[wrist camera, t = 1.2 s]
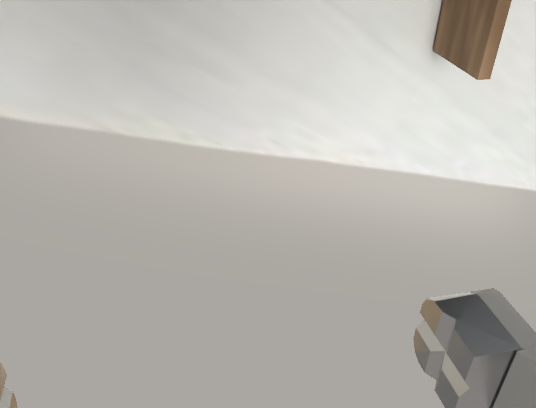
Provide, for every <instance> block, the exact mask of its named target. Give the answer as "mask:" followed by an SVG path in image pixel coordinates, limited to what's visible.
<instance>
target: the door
mask: <svg viewBox="0 0 536 408" xmlns="http://www.w3.org/2000/svg"><path fill="white" fill-rule="evenodd" d="M510 4H511V0H443V5H442V10H441V15H440V20H439V25H438V30H437V35H436V40H435V45H434V50H433V51H434V52H436V53H437V54H439V55H440V56H442V57H443V58H445V59H446V60H448V61H449V62H451V63H452V64H454V65H456V66H457V67H459V68H460V69H462V70H463V71H465V72H466V73H468V74H469V75H471V76H472V77H474V78H475V79H477V80H483V79H490V77H491V73H492V69H493V66H494V62H495V59H496V55H497V51H498V48H499V44H500V40H501V37H502V33H503V29H504V26H505V22H506V19H507V15H508V11H509V8H510Z"/></svg>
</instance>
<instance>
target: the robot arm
mask: <svg viewBox="0 0 536 408" xmlns="http://www.w3.org/2000/svg"><path fill="white" fill-rule="evenodd" d="M420 313H421V315H422V316H423V318H424V320H423V321H422V322H421V323H420V324H419V325H418V326H417V327H416V330H415V335H414V347H415V353H416V356H417V359H418V361H419V363H420V365H421V367H422V369H423V371H424V372H425V373H426V374H428V375H429V376H431V377H433V378H434V379H436V387H435V391H436V393H437V395H438V396H439V398H440V400H441V402H442V403H443V405H444V407H445V408H536V332H535V331H534V330H533V329H532V328H531V327H530V326H529V324H527V322H526V321H525V320H524V319H523V318H522V317H521V315H520V314H519V313H518V312H517V311H516V310H515V309H514V307H513V306H512V305H511V304H510V303H509V302H508V301H507V300H506V298H505V297H504V296H503V295H502V294H501V293H500V292H499V291H497V290H495V289H494V288H493V289H486V290H480V291H473V292H470V293H469V292H465V293H459V294H453V295H446V296H440V297H434V298H428V299H426V300H425V301H424V303H423V304H422V307H421V311H420ZM5 380H6V373H5V370H4V368H3V366H2V364H1V363H0V408H17V402H16V399H15V396H14V393H13V391H11V390H9V389H8V388H6V387H4V384H5Z"/></svg>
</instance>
